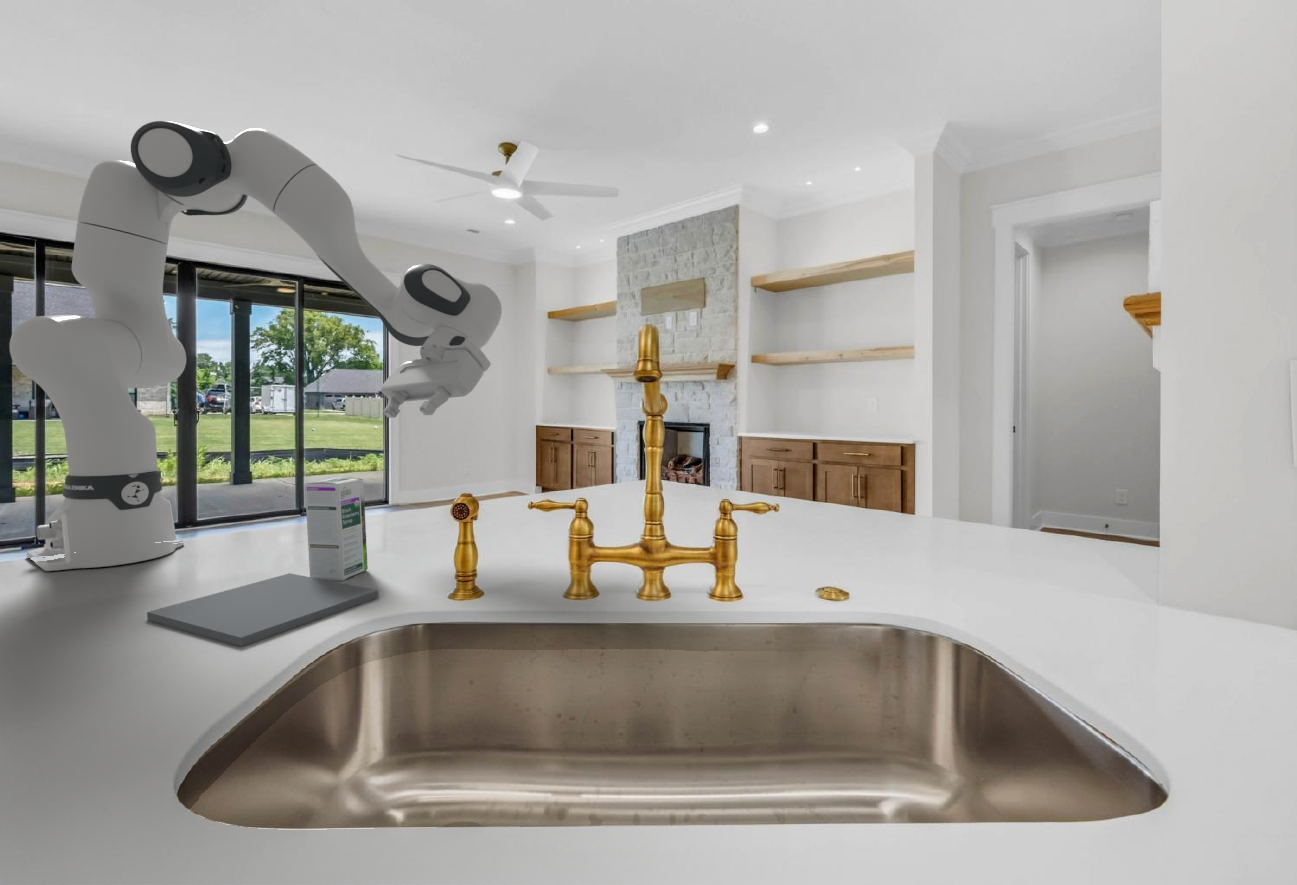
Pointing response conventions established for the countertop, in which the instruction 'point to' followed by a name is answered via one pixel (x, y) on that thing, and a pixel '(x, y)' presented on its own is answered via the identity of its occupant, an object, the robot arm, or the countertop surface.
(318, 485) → the syrup box
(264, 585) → the slate mat
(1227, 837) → the countertop surface
